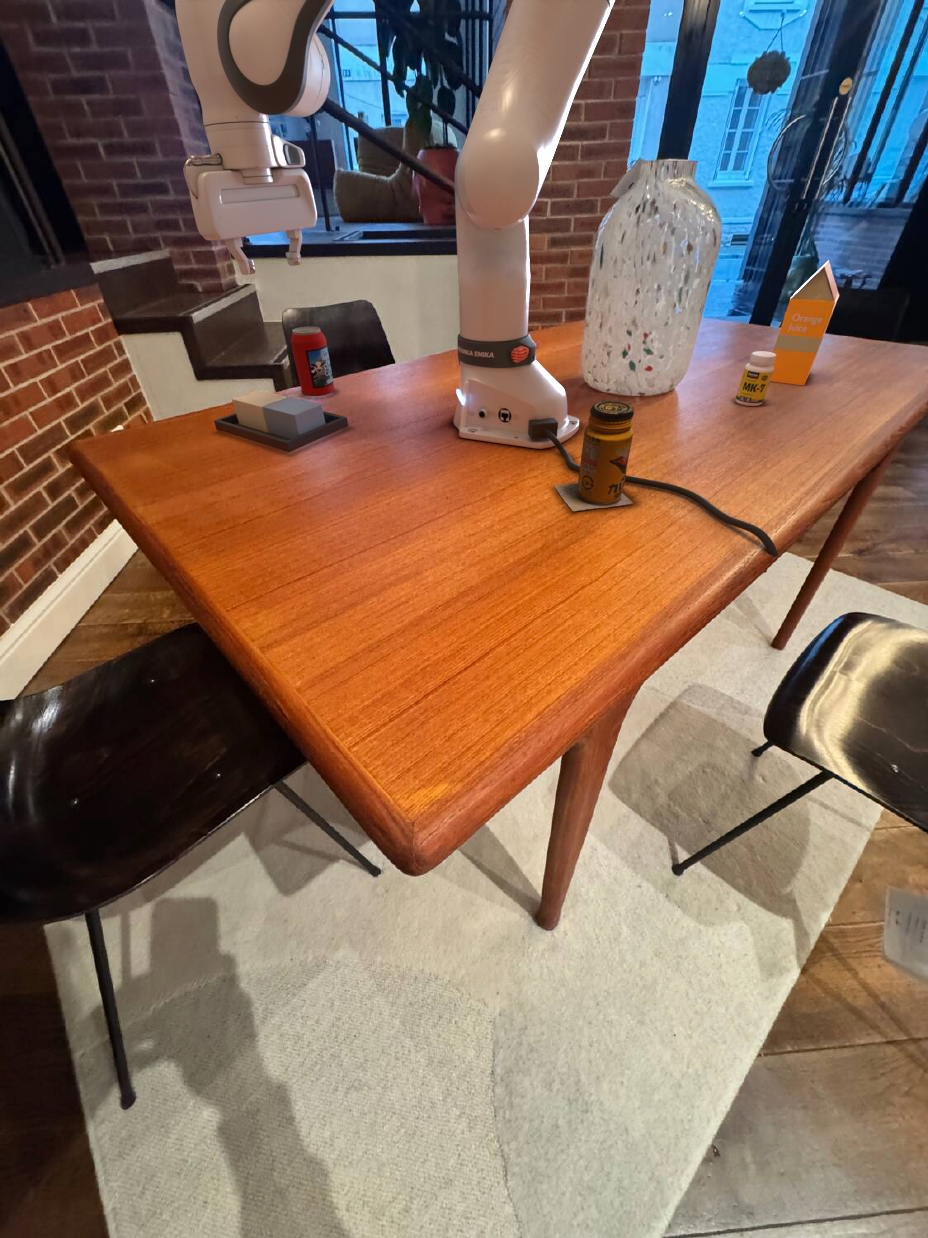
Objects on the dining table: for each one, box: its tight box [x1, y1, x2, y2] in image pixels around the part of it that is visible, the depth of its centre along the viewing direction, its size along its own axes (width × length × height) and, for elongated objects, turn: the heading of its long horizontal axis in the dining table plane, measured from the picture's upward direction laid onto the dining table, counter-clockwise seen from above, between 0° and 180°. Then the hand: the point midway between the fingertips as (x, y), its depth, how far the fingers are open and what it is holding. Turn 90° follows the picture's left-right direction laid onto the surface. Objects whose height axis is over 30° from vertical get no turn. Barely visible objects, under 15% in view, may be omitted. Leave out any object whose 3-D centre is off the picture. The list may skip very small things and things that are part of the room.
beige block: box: [231, 389, 289, 433], centre depth 94 cm, size 8×6×4 cm
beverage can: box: [290, 326, 335, 397], centre depth 105 cm, size 7×7×12 cm
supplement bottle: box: [734, 350, 776, 407], centre depth 95 cm, size 5×5×8 cm
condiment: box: [554, 400, 635, 512], centre depth 68 cm, size 7×8×12 cm
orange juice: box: [770, 259, 840, 386], centre depth 103 cm, size 8×9×20 cm
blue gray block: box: [263, 396, 325, 439], centre depth 90 cm, size 8×6×4 cm
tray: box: [213, 410, 349, 453], centre depth 93 cm, size 20×14×2 cm
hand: (272, 269), depth 83 cm, fingers open, 8 cm apart
